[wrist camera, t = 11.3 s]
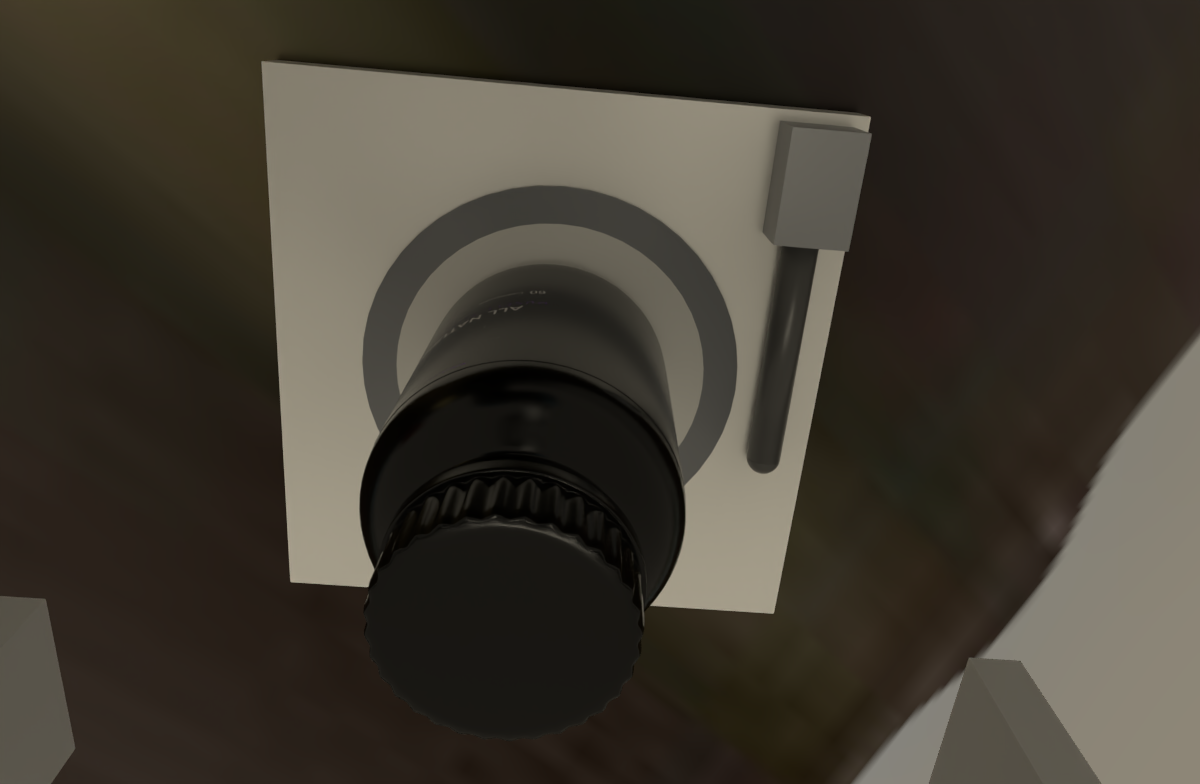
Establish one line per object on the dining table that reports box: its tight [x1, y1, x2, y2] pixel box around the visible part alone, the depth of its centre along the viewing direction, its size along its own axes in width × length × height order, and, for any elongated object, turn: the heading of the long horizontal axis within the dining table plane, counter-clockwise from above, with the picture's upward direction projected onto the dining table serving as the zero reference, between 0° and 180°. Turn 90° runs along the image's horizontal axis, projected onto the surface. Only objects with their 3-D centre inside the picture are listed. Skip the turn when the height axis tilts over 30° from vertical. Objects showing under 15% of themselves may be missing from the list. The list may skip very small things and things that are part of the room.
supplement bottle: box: [359, 264, 686, 741], centre depth 20 cm, size 7×7×12 cm
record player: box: [261, 60, 872, 614], centre depth 26 cm, size 16×16×3 cm
